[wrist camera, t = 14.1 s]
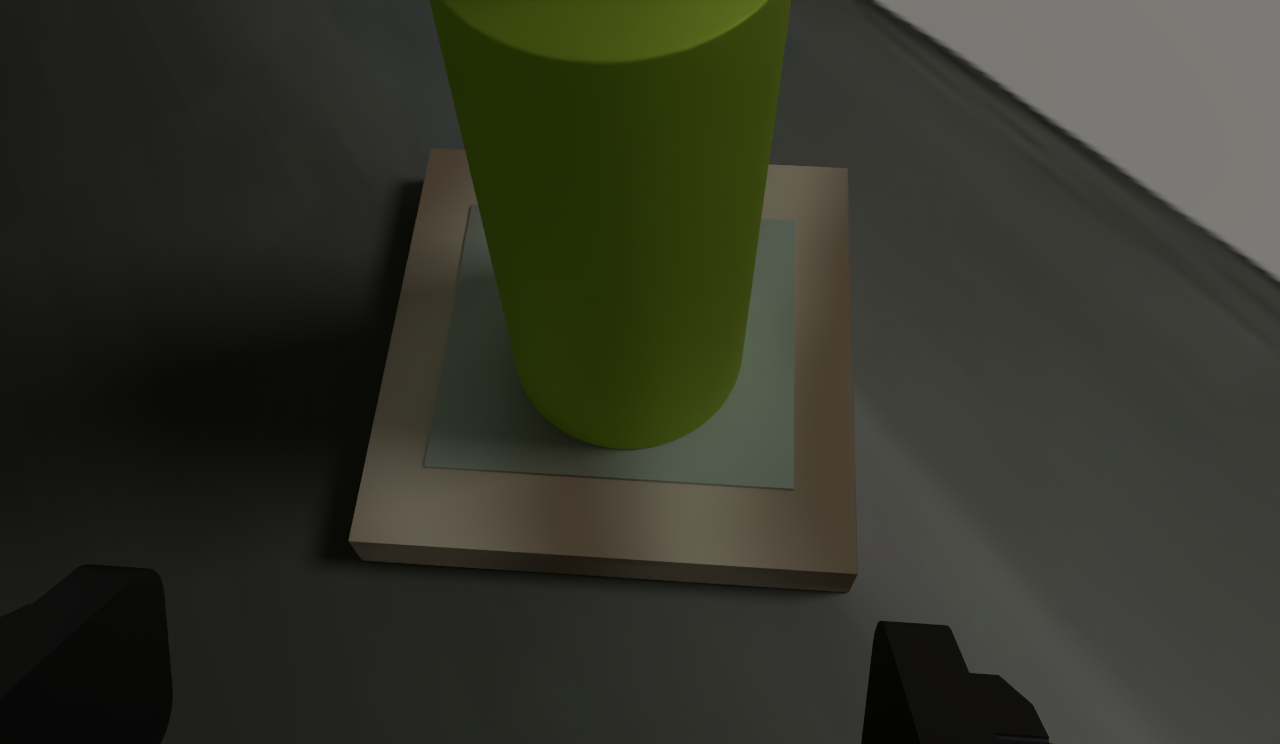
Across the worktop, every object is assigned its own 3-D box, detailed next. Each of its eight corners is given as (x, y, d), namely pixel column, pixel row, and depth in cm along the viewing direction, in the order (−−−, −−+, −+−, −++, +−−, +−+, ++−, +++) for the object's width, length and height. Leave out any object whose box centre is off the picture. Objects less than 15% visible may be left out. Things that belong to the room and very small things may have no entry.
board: (840, 198, 32) (847, 166, 31) (848, 592, 27) (858, 572, 25) (439, 178, 33) (430, 146, 32) (362, 560, 27) (347, 539, 26)
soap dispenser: (511, 230, 30) (305, -804, 13) (759, 273, 29) (909, -770, 12) (447, 417, 27) (70, -573, 10) (720, 470, 27) (839, -505, 9)
